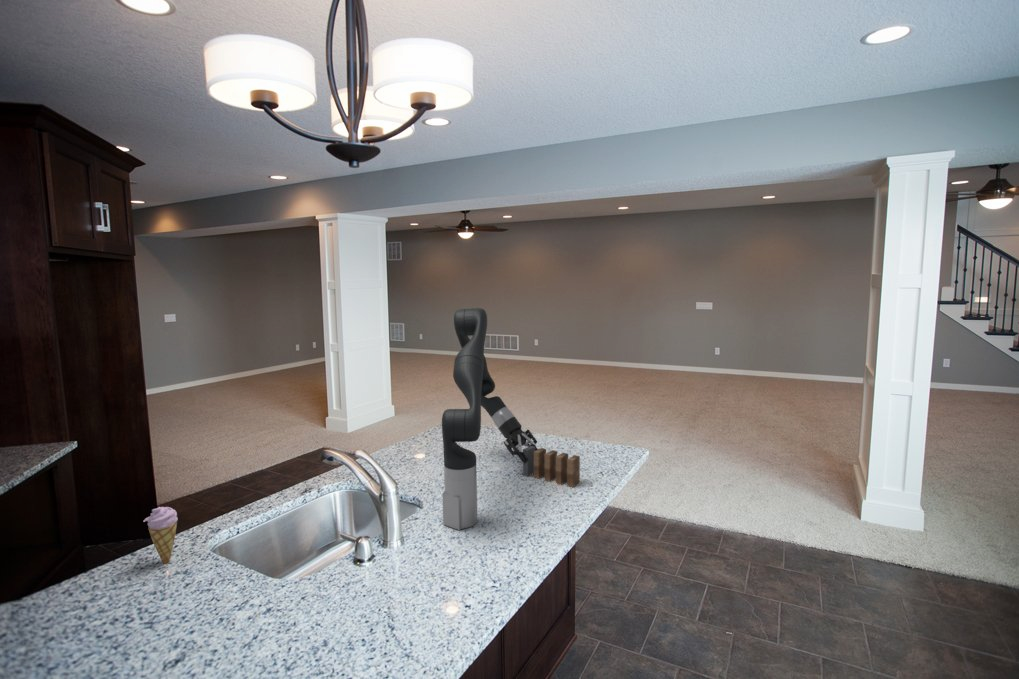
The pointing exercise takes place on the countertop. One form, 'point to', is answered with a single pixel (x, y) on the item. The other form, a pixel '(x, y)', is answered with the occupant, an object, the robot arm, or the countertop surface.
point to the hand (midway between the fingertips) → (532, 458)
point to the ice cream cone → (163, 530)
